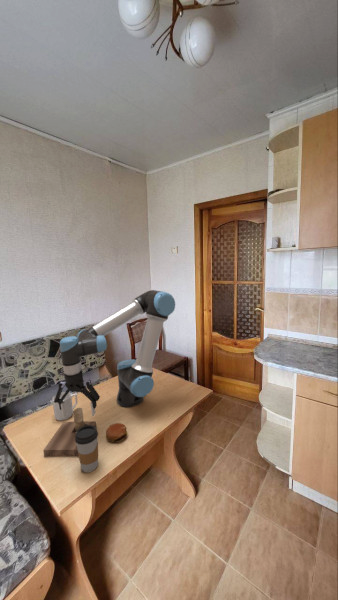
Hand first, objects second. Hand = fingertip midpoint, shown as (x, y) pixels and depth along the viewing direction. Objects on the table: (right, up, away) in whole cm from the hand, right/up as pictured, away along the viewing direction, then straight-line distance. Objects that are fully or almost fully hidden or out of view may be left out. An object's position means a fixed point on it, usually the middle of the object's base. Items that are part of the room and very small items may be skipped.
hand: (79, 414), depth 113 cm
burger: (+18, -9, -1) cm, 20 cm away
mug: (-12, -8, +17) cm, 22 cm away
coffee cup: (+10, -12, -17) cm, 23 cm away
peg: (0, -10, +1) cm, 10 cm away
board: (-2, -10, -3) cm, 11 cm away
